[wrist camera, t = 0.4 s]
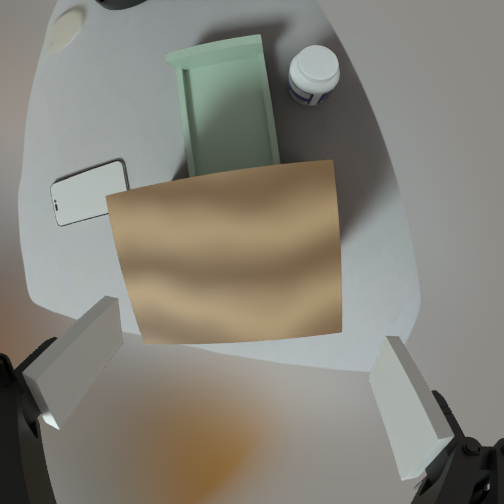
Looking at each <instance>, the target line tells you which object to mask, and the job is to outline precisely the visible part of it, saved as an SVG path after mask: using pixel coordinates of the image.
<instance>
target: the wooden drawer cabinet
mask: <svg viewBox="0 0 504 504" xmlns="http://www.w3.org/2000/svg"><path fill="white" fill-rule="evenodd" d="M105 197H106V202H107V208H108V213H109V218H110V223H111V228H112V232H113V237H114V241H115V246H116V250H117V254H118V258H119V262H120V266H121V270H122V274H123V277H124V281H125V284H126V288H127V291H128V295H129V298H130V302H131V305H132V308H133V311H134V314H135V317H136V321H137V324H138V327H139V330H140V332H141V335H142V338H143V341H144V344H212V343H234V342H251V341H265V340H277V339H288V338H298V337H307V336H316V335H324V334H332V333H340V332H342V272H341V248H340V230H339V216H338V204H337V192H336V182H335V173H334V164H333V159H332V160H319V161H308V162H297V163H288V164H278V165H270V166H262V167H254V168H247V169H240V170H233V171H226V172H220V173H213V174H207V175H202V176H196V177H190V178H185V179H179V180H174V181H169V182H164V183H159V184H154V185H150V186H145V187H140V188H136V189H131V190H127V191H123V192H119V193H115V194H110V195H106V196H105Z"/></svg>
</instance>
